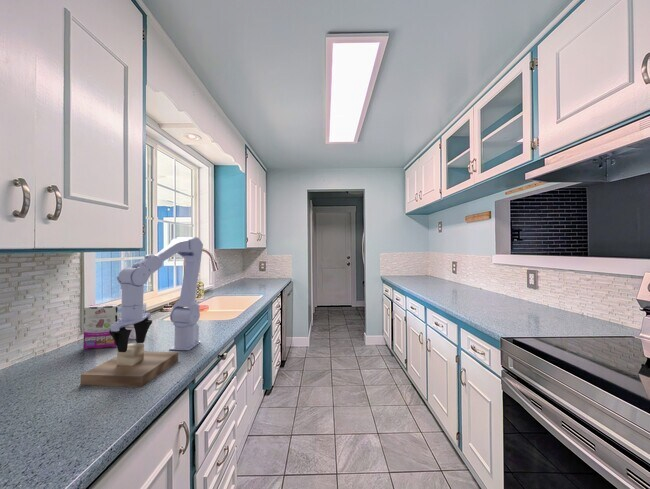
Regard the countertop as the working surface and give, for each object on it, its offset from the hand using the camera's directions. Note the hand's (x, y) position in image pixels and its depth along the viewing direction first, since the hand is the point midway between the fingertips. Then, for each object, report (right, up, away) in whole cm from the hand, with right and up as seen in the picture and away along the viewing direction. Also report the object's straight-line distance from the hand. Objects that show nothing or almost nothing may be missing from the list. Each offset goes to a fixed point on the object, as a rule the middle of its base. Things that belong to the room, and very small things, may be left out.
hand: (131, 347), depth 87 cm
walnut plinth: (+1, -8, 0) cm, 8 cm away
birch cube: (0, -5, 0) cm, 5 cm away
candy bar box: (-26, -8, +21) cm, 35 cm away
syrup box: (-22, -8, +33) cm, 40 cm away
